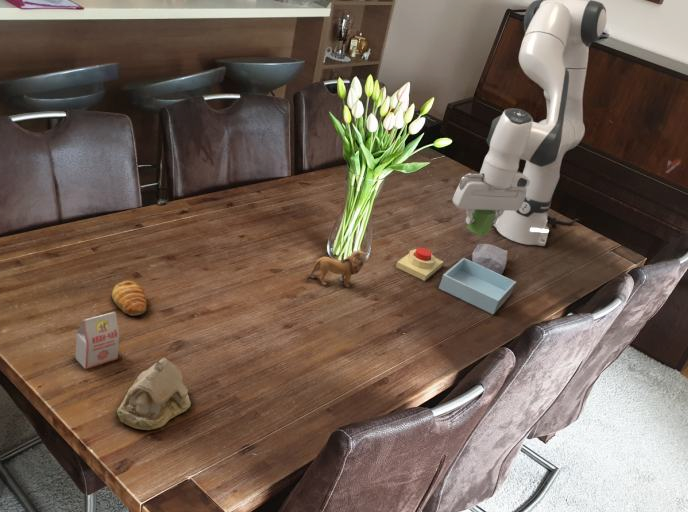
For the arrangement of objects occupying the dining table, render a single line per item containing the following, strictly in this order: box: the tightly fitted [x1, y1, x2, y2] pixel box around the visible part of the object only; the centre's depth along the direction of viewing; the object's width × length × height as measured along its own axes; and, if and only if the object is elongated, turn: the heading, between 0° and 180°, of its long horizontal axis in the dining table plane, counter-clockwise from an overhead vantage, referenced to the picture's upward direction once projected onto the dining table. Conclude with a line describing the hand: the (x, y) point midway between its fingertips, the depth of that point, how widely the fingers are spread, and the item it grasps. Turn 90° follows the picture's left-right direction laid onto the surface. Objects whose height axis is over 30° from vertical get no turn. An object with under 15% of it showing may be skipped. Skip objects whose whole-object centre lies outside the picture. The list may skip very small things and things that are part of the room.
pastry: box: [111, 280, 148, 317], centre depth 162 cm, size 9×7×4 cm
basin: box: [438, 257, 517, 315], centre depth 204 cm, size 15×16×4 cm
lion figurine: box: [305, 249, 367, 288], centre depth 189 cm, size 15×5×9 cm, turn 110°
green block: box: [466, 210, 496, 237], centre depth 199 cm, size 4×4×6 cm
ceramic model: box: [116, 357, 192, 431], centre depth 136 cm, size 14×11×10 cm
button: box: [415, 247, 433, 261], centre depth 207 cm, size 4×4×2 cm
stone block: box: [471, 243, 508, 275], centre depth 221 cm, size 12×5×10 cm
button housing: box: [395, 248, 444, 282], centre depth 208 cm, size 12×9×4 cm
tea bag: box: [75, 311, 120, 370], centre depth 143 cm, size 4×7×10 cm, turn 135°
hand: (480, 223), depth 200 cm, fingers closed on green block, 6 cm apart
